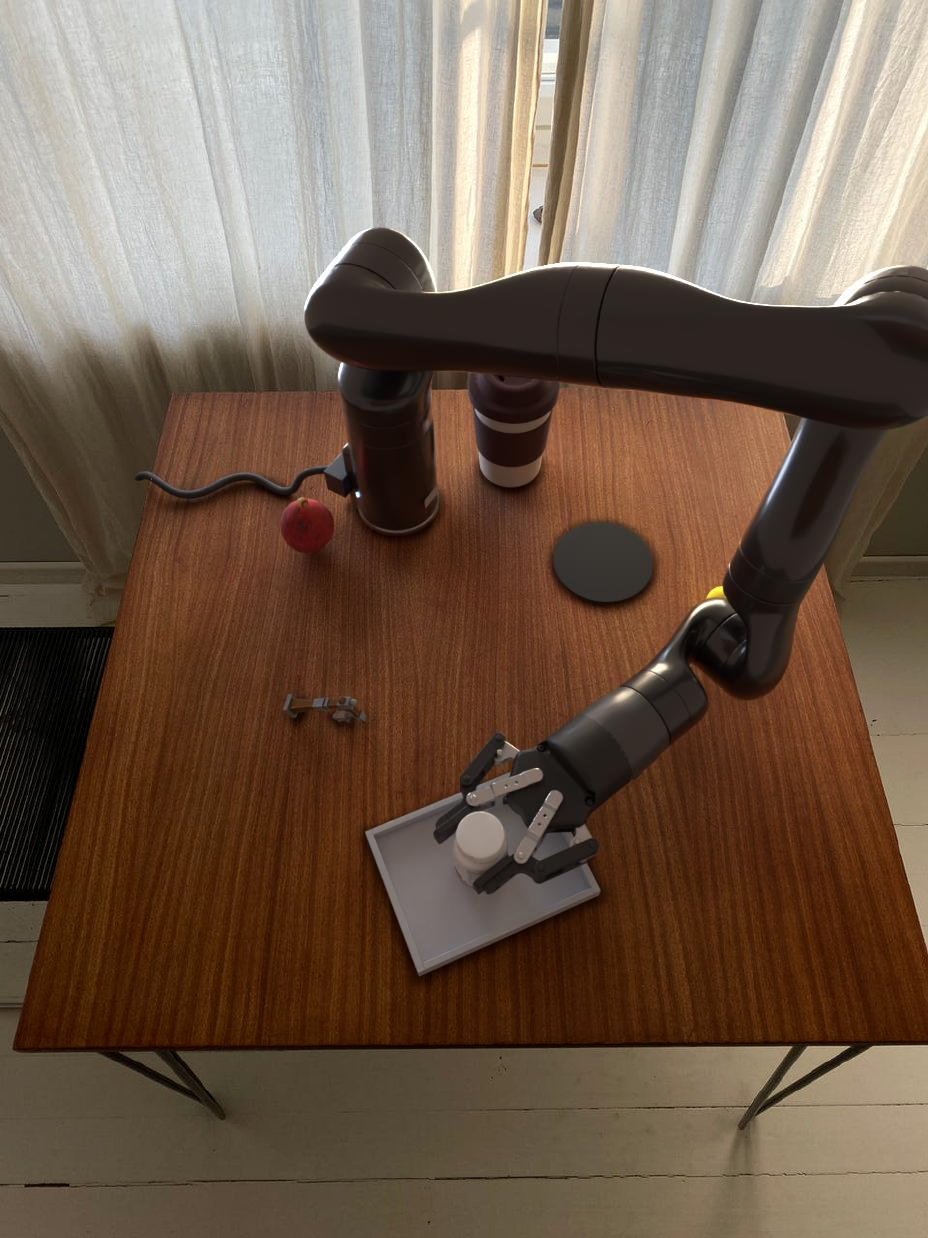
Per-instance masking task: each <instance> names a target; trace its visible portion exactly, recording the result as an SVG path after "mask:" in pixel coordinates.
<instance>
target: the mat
mask: <svg viewBox="0 0 928 1238" xmlns="http://www.w3.org/2000/svg"><path fill="white" fill-rule="evenodd" d="M552 556H553V557H552V563H553V570H554V573H555V575H556V577H557V579H558V581H559V582H560V583H561V584H562V586H563V587H564V588H565V590H567V591H568V592H569V593H571V594H572V595H574V596H575V597H577V598H579V599H582V600H583V601H585V602H589V603H594V604H600V605H614V604H619V603H623V602H626V601H629V600H631V599H633V598H635V597H636V596H638V595H639V594H640V593H641V592H643V591H644V589H645V588H647V585H648V584H649V582H650V580H651V578H652V574H653V571H654V560H653V555H652V553H651V550H650V548H649V546H648V545H647V544H646V542H645V541H644V539H642V537H641V536H639V535H638V534H637V533H635V532H634V531H632V530H631V529H629V528H627V527H625V526H623V525H620V524H618V523H617V524H616V523H613V522H606V521H592V522H587V523H582V524H580V525H577V526H575V527H573V528H571V529H570V530H568V531H567V532H566V533H564V534H563V535H562V536H561V538H560V539H559V540H558V542H557V544H556V545H555V548H554V550H553V555H552Z"/></svg>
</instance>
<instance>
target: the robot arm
mask: <svg viewBox="0 0 928 1238" xmlns="http://www.w3.org/2000/svg"><path fill="white" fill-rule="evenodd" d="M436 284H437V283H436V280H435V277H434V273H433V270H432V267H431V265H430V262H429V261H428V259H427V257H426V256H425V255H424V253H423V251H422V250H421V249H420V247H419V246H418V245H417V244H416V243H415V242H414V241H413V240H411V238H409V237H408V236H407V235H406V234H403V233H402V232H400V231H398V230H396V229H392V228H388V227H382V226H377V227H376V226H375V227H370V228H366V229H364V230H361V231H359V232H358V233H357V234H355V235H354V236H353V237H352V238H351V239H350V240H349V241H348V242H347V243H346V244H345V246H344V247H343V248H342V249H341V250H340V252H338V255H336V257H335V258H334V259H333V260H332V262H331V263H330V264H329V265H328V266H327V268H326V269H325V270H324V271H323V272H322V274H321V275H320V277H319V278H318V279H317V280H316V281H315V283H314V285H313V287H312V288H311V290H310V292H309V294H308V296H307V299H306V301H305V304H304V308H303V322H304V326H305V329H306V332H307V334H308V336H309V338H310V339H311V340H312V341H313V343H314V344H315V345H316V346H317V347H318V348H319V349H320V350H321V351H323V352H324V353H325V354H326V355H327V356H329V357H331V358H332V359H334V360H336V361H338V362H340V364H339V368H338V371H337V379H336V382H337V383H336V385H337V393H338V397H339V402H340V408H341V414H342V419H343V424H344V430H345V436H346V442H347V443H346V444H345V445H344V446H343V447H342V450H341V452H340V454H339V455H337V457H336V458H335V459H334V460H333V461H332V462H331V463H330V464H329V465H318V466H312V467H308V468H306V469H303V470H301V471H300V472H298V474H297V475H296V476H295V478H294V480H293V482H292V484H291V485H290V486H286V487H284V486H280V485H278V484H276V483H273V482H272V481H270V480H269V479H268V478H265V477H264V476H261V475H260V474H256V473H252V472H237V473H232V474H229V475H227V476H224V477H222V478H220V479H218V480H216V481H214V482H213V483H211V484H208V485H206V486H203V487H202V488H198V489H195V490H194V489H193V490H184V489H183V490H182V489H179V488H176V487H174V486H172V485H170V484H169V483H167V482H166V481H164V480H163V479H162V478H160V477H159V476H157V475H156V474H154V473H153V472H151V471H145V470H144V471H140V472H138V473H137V474H135V475H134V481H137V482H141V481H143V480H147V481H150V482H151V483H153V484H154V485H155V486H157V487H158V488H159V489H161V490H163V491H164V492H165V493H167V494H169V495H171V496H173V497H175V498H179V499H185V500H195V499H199V498H203V497H205V496H208V495H210V494H212V493H214V492H216V491H218V490H220V489H222V488H224V487H226V486H228V485H230V484H234V483H236V482H241V481H243V482H244V481H249V482H253V483H255V484H256V483H257V484H258V485H260V486H261V487H264V488H266V489H267V490H269V491H271V492H272V493H275V494H276V495H280V496H290V495H293V494H296V493H297V492H298V491H299V490H300V488H301V486H302V484H303V482H304V481H305V479H307V478H309V477H312V476H316V475H317V476H318V475H324V480H325V483H326V484H325V485H326V488H327V490H328V491H330V492H332V493H334V494H336V495H338V496H341V497H342V498H345V499H346V498H347V497H348V496H349V497H350V503H351V506H352V508H354V509H355V510H357V511H358V513H359V517H360V519H361V520H362V522H363V524H365V525H366V527H368V528H369V529H371V530H372V531H374V532H375V533H377V534H380V535H384V536H389V537H405V536H410V535H414V534H416V533H419V532H420V531H423V530H424V529H425V528H427V527H428V526H430V525H431V523H432V522H433V521H434V519H435V518H436V516H437V515H438V512H439V509H440V496H439V484H438V473H437V456H436V442H435V441H436V439H435V424H434V410H433V409H434V408H433V407H434V406H433V394H432V393H433V389H432V384H433V379H434V375H435V373H436V372H439V373H440V372H443V373H445V372H446V373H447V372H449V373H468V374H470V373H477V374H487V375H499V376H510V377H521V378H532V379H539V380H546V381H552V382H558V383H560V384H565V385H571V386H578V387H579V386H580V387H587V388H596V389H605V390H615V391H628V392H639V393H646V394H647V393H649V394H655V395H662V396H669V397H679V398H688V399H689V398H690V399H696V400H697V399H699V400H707V401H718V402H724V403H725V402H726V403H733V404H737V405H738V404H739V405H743V406H749V407H753V408H759V409H762V410H767V411H771V412H776V413H780V414H784V415H789V416H793V417H798V418H801V419H800V421H799V423H798V426H797V428H796V430H795V432H794V435H793V437H792V439H791V442H790V443H789V446H788V448H787V450H786V451H785V454H784V456H783V458H782V460H781V461H780V463H779V464H778V467H777V468H776V471H775V472H774V475H773V476H772V479H771V480H770V482H769V485H768V487H767V488H766V490H765V492H764V493H763V495H762V497H761V498H760V501H759V503H758V504H757V506H756V508H755V510H754V511H753V514H752V516H751V517H750V520H749V522H748V523H747V525H746V527H745V529H744V532H743V533H742V536H741V538H740V540H739V541H738V544H737V546H736V548H735V550H734V552H733V554H732V557H731V559H730V562H729V564H728V566H727V568H726V570H725V573H724V575H723V578H722V584H721V586H722V588H723V593H724V595H725V597H726V598H721V597H714V598H709V599H706V598H705V599H703V600H701V601H699V602H697V603H696V604H694V605H693V606H692V607H691V608H690V610H689V611H688V612H687V613H686V614H685V616H684V618H683V619H682V620H681V622H680V623H679V625H678V626H677V628H676V629H675V631H674V632H673V634H672V635H671V636H670V638H669V639H668V641H667V642H666V643H665V645H664V646H663V647H662V648H661V649H660V650H659V652H658V653H657V654H655V656H654V657H653V658H652V659H651V660H650V661H649V662H648V664H646V665H645V666H644V667H642V669H640V670H639V671H638V672H636V673H635V674H633V676H631V677H629V678H628V679H626V681H624V682H623V683H621V684H620V685H619V686H618V687H616V688H615V689H614V690H611V691H610V692H608V693H606V694H604V695H603V696H601V697H599V698H598V699H596V700H594V701H593V702H591V704H589V705H588V706H586V708H584V709H582V710H581V711H580V712H578V713H577V714H576V715H575V716H573V717H572V718H571V719H569V720H568V721H567V722H565V723H564V724H563V725H562V726H560V727H559V728H558V729H556V730H555V731H553V732H552V733H550V734H549V735H548V736H547V737H546V738H544V739H542V741H540V742H539V743H538V744H537V745H535V746H533V747H531V748H524V749H521V750H520V749H518V748H517V747H515V746H513V745H512V744H510V743H509V742H508V741H506V740H507V739H506V736H505V734H504V733H502V732H500V731H499V732H495V733H493V734H492V736H491V737H490V738H489V740H488V741H487V742H486V743H485V744H484V746H483V747H482V748H481V749H480V751H478V753H477V754H476V755H475V757H474V758H473V760H471V762H470V763H469V764H468V765H467V766H466V768H465V769H464V770H463V772H462V773H461V774H460V775H459V793H462V796H463V800H462V801H461V802H460V803H459V804H457V805H456V806H455V807H453V808H452V809H451V810H449V811H448V812H447V813H445V814H444V815H443V816H441V817H440V818H439V819H438V820H437V822H436V824H435V825H436V830H435V831H434V832H433V835H434V839H435V840H436V841H437V842H438V844H441V843H443V842H444V841H446V840H447V839H448V838H449V837H451V836H452V835H453V834H455V832H456V830H457V828H458V825H459V823H460V822H461V821H462V819H463V818H465V817H466V816H467V815H469V814H471V813H474V812H485V811H488V810H491V809H500V808H503V807H506V806H509V807H510V808H511V809H512V810H513V811H514V812H515V813H517V814H518V815H520V816H521V818H522V820H523V822H524V824H525V826H526V827H527V828H528V830H527V832H526V835H525V836H524V838H523V840H522V841H521V843H520V845H519V846H518V848H517V850H516V851H515V853H514V854H512V855H511V856H509V855H508V854H507V855H506V856H505V857H504V858H502V859H501V860H500V861H498V862H497V863H496V864H495V865H493V866H492V867H491V868H490V869H488V870H487V871H486V872H485V873H483V874H482V875H481V876H480V877H478V878H477V879H476V880H475V881H474V882H473V889H474V890H475V891H476V892H477V894H478V895H479V894H481V893H482V892H483V891H485V892H486V894H487V895H488V894H492V893H494V892H495V891H497V890H498V889H499V888H500V887H502V886H503V885H504V884H505V883H507V882H508V881H509V880H510V879H511V878H513V877H514V876H515V875H517V874H520V873H522V874H526V875H527V876H529V877H531V878H532V879H533V881H534V882H535V883H537V884H542V883H544V882H546V881H548V880H551V879H553V878H555V877H557V876H559V875H562V874H564V873H566V872H568V871H570V870H573V869H575V868H577V867H579V866H581V865H584V864H586V863H587V864H588V863H590V862H592V861H594V860H596V858H597V856H598V853H599V850H600V847H601V846H600V842H599V841H598V840H597V839H596V838H594V837H593V836H592V834H591V833H590V830H589V829H588V827H587V825H586V824H587V821H588V819H589V817H590V816H591V814H593V813H594V812H595V811H596V810H597V809H599V808H600V807H601V806H602V805H604V804H605V803H606V802H607V801H609V800H610V799H611V798H613V796H615V795H616V794H617V793H619V791H621V790H622V789H623V788H625V787H626V786H627V785H628V784H630V783H631V782H632V781H635V780H636V779H637V778H639V777H640V776H641V775H643V772H645V771H646V770H647V769H648V768H649V767H651V765H653V764H654V762H655V761H657V759H658V758H659V757H660V756H661V755H662V754H663V753H664V751H666V750H667V749H668V748H670V747H671V746H672V745H673V744H674V743H676V742H677V741H678V740H680V739H681V737H683V736H684V735H685V734H687V733H688V732H690V730H691V729H693V728H694V727H695V726H697V724H699V723H700V722H701V721H702V720H704V718H705V716H706V715H707V713H708V711H709V707H710V706H709V698H708V694H707V691H706V689H705V687H704V686H703V684H702V682H701V681H700V679H699V677H698V676H697V675H696V673H695V671H693V669H692V668H691V666H690V665H694V666H695V667H697V668H698V669H699V671H701V672H702V673H703V674H704V675H706V676H707V677H708V678H709V679H710V680H712V682H714V683H715V684H716V685H717V686H718V687H719V688H720V689H722V690H723V691H724V692H725V693H727V694H728V695H729V696H731V697H732V698H734V699H736V700H739V701H745V702H749V701H755V700H758V699H761V698H763V697H765V696H767V695H768V694H770V693H771V692H772V691H773V690H774V689H775V688H776V687H777V686H778V685H779V683H780V682H781V680H782V679H783V677H784V675H785V673H786V670H787V668H788V666H789V663H790V659H791V655H792V651H793V646H794V645H793V644H794V638H795V631H796V627H797V626H796V625H797V621H798V617H799V612H800V608H801V605H802V603H803V601H804V599H805V597H806V595H807V594H808V592H809V591H810V589H811V586H812V585H813V584H814V582H815V580H816V578H817V576H818V575H819V573H820V571H821V569H822V568H823V565H824V563H825V562H826V559H827V557H828V556H829V553H830V551H831V549H832V547H833V546H834V543H835V541H836V540H837V537H838V534H839V532H840V530H841V527H842V525H843V523H844V521H845V518H846V516H847V513H848V511H849V508H850V506H851V504H852V501H853V499H854V496H855V494H856V492H857V489H858V487H859V485H860V483H861V481H862V478H863V476H864V475H865V473H866V470H867V468H868V466H869V464H870V462H871V460H872V459H873V457H874V454H875V453H876V451H877V450H878V447H879V446H880V444H881V442H882V441H883V439H884V438H885V436H886V434H887V433H888V431H889V430H894V429H899V428H904V427H906V426H909V425H911V424H914V423H917V422H919V421H921V420H923V419H925V418H926V417H928V269H927V268H925V267H922V266H916V265H910V264H909V265H908V264H907V265H893V266H888V267H884V268H880V269H878V270H876V271H873V272H870V273H869V274H867V275H865V276H864V277H862V278H860V279H859V280H857V281H856V282H854V283H853V284H852V285H850V287H849V288H848V289H846V290H845V291H844V292H843V293H842V294H841V296H840V297H839V298H837V301H836V302H835V303H834V304H833V305H827V306H825V305H824V306H822V305H821V306H818V305H817V306H809V305H807V306H805V305H777V304H776V305H774V304H764V303H763V304H761V303H753V302H747V301H742V300H738V299H733V298H730V297H726V296H723V295H721V294H719V293H716V292H713V291H710V290H708V289H706V288H703V287H701V286H699V285H697V284H694V283H692V282H689V281H687V280H685V279H682V278H679V277H678V276H677V277H676V276H674V275H671V274H668V273H665V272H662V271H658V270H656V269H653V268H647V267H642V266H635V265H634V266H633V265H625V264H609V263H608V264H607V263H594V262H593V263H592V262H576V261H575V262H560V263H554V264H552V263H551V264H547V265H542V266H537V267H534V268H530V269H527V270H523V271H519V272H516V273H513V274H510V275H507V276H504V277H501V278H498V279H495V280H492V281H489V282H485V283H483V284H479V285H475V286H470V287H467V288H462V289H457V290H450V291H437V285H436ZM152 473H153V475H152ZM151 478H152V480H151ZM507 762H511V763H512V766H511V770H510V772H511V773H510V772H509V773H510V777H509V778H507V779H504V780H501V781H498V782H495V783H493V784H491V785H490V786H489V787H486V788H483V789H480V790H477V789H476V787H477V786H478V785H480V784H481V783H482V782H483V780H484V779H485V778H486V776H487V775H488V774H489V773H490V771H491V770H492V768H493V767H494V766H500V767H501V766H503V765H504V764H505V763H507ZM506 786H507V787H506ZM562 832H571V833H574V836H573V838H572V839H571V840H570V842H569V848H567V849H565V850H563V851H560V852H558V853H556V854H554V855H552V856H549V857H547V858H545V859H543V860H540V861H539V860H537V859H536V858H534V857H533V856H534V854H535V853H536V852H537V850H538V849H539V847H540V846H541V844H542V842H543V841H544V839H545V837H546V836H547V834H548V833H562Z"/></svg>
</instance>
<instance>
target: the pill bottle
mask: <svg viewBox="0 0 928 1238" xmlns="http://www.w3.org/2000/svg"><path fill="white" fill-rule="evenodd" d="M452 846H453V856H454V865H455V870H456V873H457V875H458V877H459V879H460V880H461V881H462V882H463V883H464V884H465V885H467V886H468V887H471V888H473V882H474V881H475V880H476V879H477V878H478V877H480V876H481V875H482V874H483V873H485V872H486V871H487V870H488V869H490V868H491V867H492V866H493V865H495V864H496V863H497V862H498V861H500V860H501V859H502V858H504V857H505V856H506V855H507V854H508V838H507V835H506V833H505V831H504V829H503V826H502V824H501V823H500V821H499V820H498V819H497V818H496V817H495V816H493V815H491V814H489V813H486V812H474V813H471V814H469V815H467V816H466V817H465V818H463V819H462V821H461V822H460V823H459V825H458V828H457V830H456V832H455V834H454V837H453V844H452Z"/></svg>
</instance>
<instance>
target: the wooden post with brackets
mask: <svg viewBox="0 0 928 1238" xmlns="http://www.w3.org/2000/svg"><path fill="white" fill-rule="evenodd" d="M357 704H358V701H357V699H355V698H353V697H352V696H350V695H349V696H339V697H338V698H331V697H320V698H316V697H315V698H314V699H303V698H296V697H295V696H294V695H293V694H289V693H288V694H287V697H286V700H285V703H284V704H283V705H284V706H283V708H282V711H284V712H285V713H286V714H287V715H288V716H290V717H291V718H292V719H294V718H297V716H298V714H299V713H300V714H301V713H304V712H309V711H317V712H321V711H324V712H327V711H328V712H330V711H331V712H332V710H335V709H336V711H335V713H332V714H333V715H332V719H334V720H336V721H337V722H338V723H342V722H346V723H347V724H349V723H350V720H353V719H356V721H359V722H360V723H361V724H367V723H368V720H369V716H367V715H366V713H365V712H364V711H362V710H360V709H359V708H358V707H357ZM338 709H339V710H338Z"/></svg>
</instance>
